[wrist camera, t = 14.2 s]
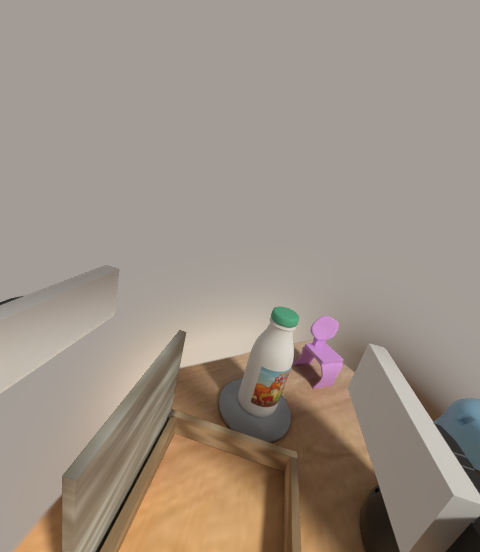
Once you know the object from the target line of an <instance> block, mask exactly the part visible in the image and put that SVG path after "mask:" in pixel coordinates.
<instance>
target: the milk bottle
mask: <svg viewBox="0 0 480 552" xmlns="http://www.w3.org/2000/svg"><path fill="white" fill-rule="evenodd" d="M298 321H299V316H298V314H296V312H294V311H293V310H291V309H288V308H285V307H275V308H274V309H273V311H272V314H271V318H270V324H269V326H268V327H267V329H266V330H265V331H264V332H263V333H262V334H261V335H260V336H259V337H258V338H257V340H256V341H255V343H254V345H253V348H252V350H251V353H250V356H249V359H248V363H247V366H246V369H245V372H244V376H243V379H242V382H241V386H240V389H239V393H238V399H239V403H240V405H241V406H242V408H243V409H244V410H245V411H246V412H247V413H249V414H251V415H253V416H255V417H267V416H270V415H271V414H273V413H274V411H275V410H276V407H277V405H278V402H279V400H280V397H281V394H282V392H283V389H284V386H285V383H286V381H287V378H288V375H289V372H290V369H291V366H292V363H293V358H294V346H293V330H295V329H296V325H297V323H298Z"/></svg>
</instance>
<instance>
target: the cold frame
mask: <svg viewBox="0 0 480 552" xmlns="http://www.w3.org/2000/svg"><path fill="white" fill-rule="evenodd" d="M185 336H186V332H184V331H181V330H179V332H178V333H177V334H176V335H175V336H174V338H173V339H172V340H171V341H170V343H169V344H168V345H167V347H166V348H165V349H164V350H163V351H162V353H161V354H160V355H159V356H158V358H157V359H156V360H155V361H154V363H153V364H152V365H151V366H150V368H149V369H148V370H147V371H146V373H145V374H144V375H143V376H142V378H141V379H140V380H139V381H138V383H137V384H136V385H135V386H134V388H133V389H132V390H131V391H130V393H129V394H128V395H127V396H126V398H125V399H124V400H123V401H122V402H121V404H120V405H119V406H118V408H117V409H116V410H115V411H114V413H113V414H112V415H111V416H110V417H109V419H108V420H107V421H106V422H105V424H104V425H103V426H102V427H101V429H100V430H99V431H98V432H97V434H96V435H95V436H94V437H93V439H92V440H91V441H90V442H89V443H88V445H87V446H86V447H85V448H84V450H83V451H82V452H81V454H80V455H79V456H78V457H77V458H76V460H75V461H74V462H73V464H72V465H71V466H70V467H69V468H68V470H67V471H66V472H65V473H64V475H63V476H62V552H118V551H119V549H120V547H121V545H122V543H123V540H124V538H125V536H126V534H127V532H128V530H129V528H130V526H131V524H132V522H133V519H134V517H135V515H136V513H137V511H138V509H139V507H140V505H141V503H142V500H143V498H144V496H145V494H146V492H147V490H148V488H149V486H150V484H151V482H152V479H153V477H154V475H155V473H156V471H157V469H158V467H159V465H160V463H161V461H162V458H163V456H164V454H165V452H166V450H167V448H168V446H169V444H170V442H171V439H172V437H173V435H174V433H175V434H178V435H181V436H184V437H187V438H189V439H192V440H195V441H198V442H201V443H204V444H206V445H209V446H212V447H215V448H218V449H220V450H223V451H226V452H229V453H232V454H235V455H237V456H240V457H243V458H246V459H249V460H252V461H254V462H257V463H260V464H263V465H266V466H269V467H271V468H274V469H277V470H280V471H283V472H284V541H283V552H301V532H300V507H299V482H298V457H297V452H295V451H292V450H289V449H286V448H283V447H280V446H278V445H275V444H272V443H269V442H266V441H263V440H260V439H257V438H254V437H251V436H249V435H246V434H243V433H240V432H237V431H234V430H231V429H228V428H225V427H222V426H219V425H217V424H214V423H211V422H208V421H205V420H202V419H199V418H196V417H193V416H190V415H188V414H185V413H182V412H179V411H176V410H173V409H172V404H173V399H174V393H175V388H176V383H177V378H178V373H179V367H180V361H181V357H182V352H183V346H184V341H185Z"/></svg>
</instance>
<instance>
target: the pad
mask: <svg viewBox="0 0 480 552" xmlns="http://www.w3.org/2000/svg"><path fill="white" fill-rule="evenodd" d="M242 379H243V378H242ZM242 379H237V380H234V381H232V382H230V383H228V384H227V385H226V386H225V387H224V388H223V390H222V392H221V394H220V398H219V411H220V414H221V417H222V419H223V421H224V422H225V424H226V425H227V426H228V427H229V429H231V430H234V431H237V432H240V433H243V434H246V435H249V436H251V437H254V438H257V439H260V440H263V441H266V442H269V443H273V442H276V441H278V440H280V439H281V438H282V437H283V436H284V435H285V434H286V433H287V431H288V429H289V426H290V423H291V412H290V408H289V406H288V404H287V402H286V400H285V399H284V397H283V396H282V395H281V397H280V400H279V402H278V405H277V407H276V410H275V411H274V413H273V414H271V415H270V416H267V417H255V416H253V415H251V414H249V413H247V412H246V411H245V410H244V409H243V408H242V406H241V405H240V403H239V399H238V393H239V389H240V386H241V382H242Z"/></svg>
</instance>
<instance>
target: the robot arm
mask: <svg viewBox="0 0 480 552" xmlns="http://www.w3.org/2000/svg"><path fill="white" fill-rule="evenodd" d="M118 276H119V269H117V268H114V267H111V266H107V265H105V266H102V267H100V268H97V269H95V270H92V271H89V272H87V273H84V274H81V275H79V276H76V277H73V278H71V279H68V280H65V281H63V282H60V283H58V284H55V285H52V286H50V287H47V288H44V289H42V290H39V291H36V292H34V293H31V294H29V295H26V296H21V297H16V298H11V299H9V300H6V301H3V302H0V393H2V392H3V391H5V390H6V389H8V388H9V387H11V386H12V385H13V384H15V383H16V382H18V381H19V380H21V379H22V378H24V377H25V376H27V375H28V374H29V373H31V372H32V371H34V370H35V369H37V368H38V367H40V366H41V365H43V364H44V363H45V362H47V361H48V360H50V359H51V358H53V357H54V356H55V355H57V354H58V353H60V352H61V351H63V350H64V349H66V348H67V347H69V346H70V345H72V344H73V343H74V342H76V341H77V340H79V339H80V338H82V337H83V336H85V335H86V334H88V333H89V332H91V331H92V330H93V329H95V328H96V327H98V326H99V325H101V324H102V323H104V322H105V321H107V320H108V319H109V318H111V317H112V316H114V315H115V314H116V313H115V312H116V302H117V289H118ZM348 390H349V393H350V396H351V399H352V402H353V405H354V409H355V412H356V415H357V418H358V421H359V424H360V427H361V431H362V434H363V437H364V440H365V443H366V446H367V449H368V453H369V456H370V459H371V462H372V465H373V468H374V471H375V475H376V478H377V481H378V484H379V485H378V486H376V487H375V488H374V489H373V490H372V491H371V492H370V493H369V495H368V496H367V498H366V500H365V501H364V503H363V505H362V508H361V513H360V528H361V535H362V539H363V543H364V547H365V550H366V552H480V399H474V398H470V399H460V400H457V401H455V402H453V403H452V404H451V405H450V406H449V407H448V408H447V410H446V411H445V412H444V413H443V414H442V416H441V417H440V418H439V419H437V420H435V421H434V423H433V421H432V420H431V418H430V417H429V415H428V414H427V412H426V410H425V409H424V407H423V406H422V404H421V403H420V401H419V400H418V398H417V397H416V395H415V393H414V392H413V390H412V389H411V387H410V386H409V384H408V383H407V381H406V380H405V378H404V376H403V375H402V374H401V372H400V371H399V369H398V367H397V366H396V364H395V362H394V361H393V360H392V358H391V356H390V355H389V353H388V352H387V350H386V349H385V348H383V347H380V346H376V345H373V344H370V343H369V345H368V347H367V349H366V351H365V353H364V355H363V357H362V359H361V361H360V363H359V366H358V368H357V370H356V372H355V374H354V376H353V378H352V380H351V382H350V384H349V386H348Z"/></svg>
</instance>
